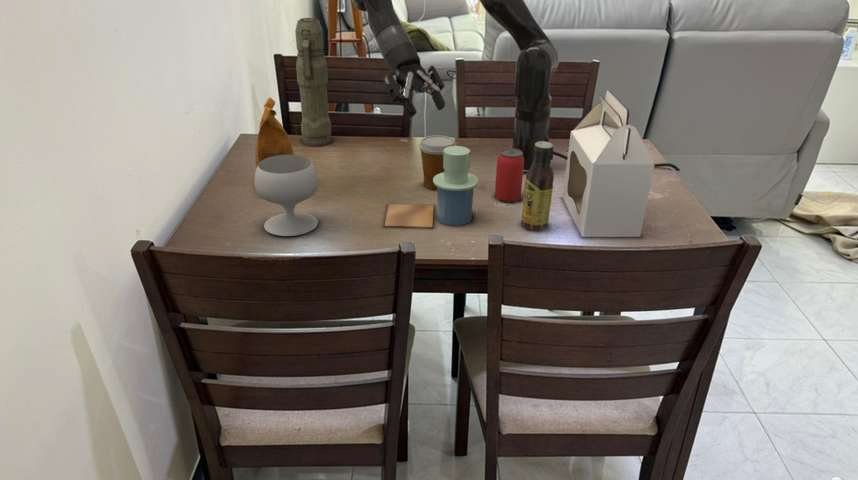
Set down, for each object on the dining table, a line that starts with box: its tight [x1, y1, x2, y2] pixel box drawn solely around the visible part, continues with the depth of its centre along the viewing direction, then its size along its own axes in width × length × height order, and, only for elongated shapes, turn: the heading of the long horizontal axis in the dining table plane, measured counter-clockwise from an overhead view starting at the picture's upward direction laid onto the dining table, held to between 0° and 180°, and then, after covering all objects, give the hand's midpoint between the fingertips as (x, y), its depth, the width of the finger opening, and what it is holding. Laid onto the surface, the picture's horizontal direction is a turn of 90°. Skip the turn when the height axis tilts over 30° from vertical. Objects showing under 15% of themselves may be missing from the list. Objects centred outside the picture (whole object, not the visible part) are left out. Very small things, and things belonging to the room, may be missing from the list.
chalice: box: [253, 154, 319, 237], centre depth 151 cm, size 14×14×15 cm
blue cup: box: [436, 187, 474, 226], centre depth 157 cm, size 8×8×9 cm
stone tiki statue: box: [294, 17, 332, 147], centre depth 195 cm, size 9×12×35 cm
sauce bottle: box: [520, 141, 555, 231], centre depth 150 cm, size 7×6×20 cm
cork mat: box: [384, 203, 435, 229], centre depth 159 cm, size 11×12×1 cm
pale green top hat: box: [433, 145, 479, 191], centre depth 153 cm, size 10×10×10 cm
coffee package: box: [254, 97, 295, 169], centre depth 168 cm, size 10×12×22 cm
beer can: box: [494, 147, 524, 203], centre depth 166 cm, size 7×7×12 cm
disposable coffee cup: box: [418, 134, 457, 190], centre depth 173 cm, size 10×10×12 cm
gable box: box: [562, 90, 656, 238], centre depth 153 cm, size 22×13×28 cm, turn 1°
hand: (428, 111), depth 154 cm, fingers open, 8 cm apart
